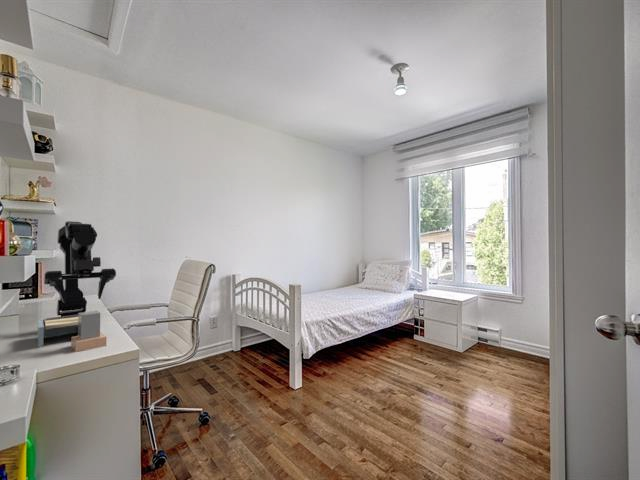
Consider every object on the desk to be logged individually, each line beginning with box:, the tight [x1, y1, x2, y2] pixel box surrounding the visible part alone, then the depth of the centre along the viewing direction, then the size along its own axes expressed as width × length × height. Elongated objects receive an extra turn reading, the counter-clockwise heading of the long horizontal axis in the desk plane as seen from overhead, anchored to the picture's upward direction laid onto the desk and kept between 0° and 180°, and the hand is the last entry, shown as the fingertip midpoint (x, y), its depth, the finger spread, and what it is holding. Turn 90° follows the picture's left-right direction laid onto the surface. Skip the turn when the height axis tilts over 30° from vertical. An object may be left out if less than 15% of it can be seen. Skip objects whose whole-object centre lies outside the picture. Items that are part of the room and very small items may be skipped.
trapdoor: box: [44, 315, 78, 329], centre depth 107 cm, size 12×12×2 cm
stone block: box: [70, 331, 107, 353], centre depth 99 cm, size 8×8×3 cm
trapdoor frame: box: [37, 318, 78, 349], centre depth 107 cm, size 15×15×6 cm
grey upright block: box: [77, 310, 101, 340], centre depth 99 cm, size 5×5×8 cm
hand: (82, 300), depth 99 cm, fingers open, 9 cm apart
